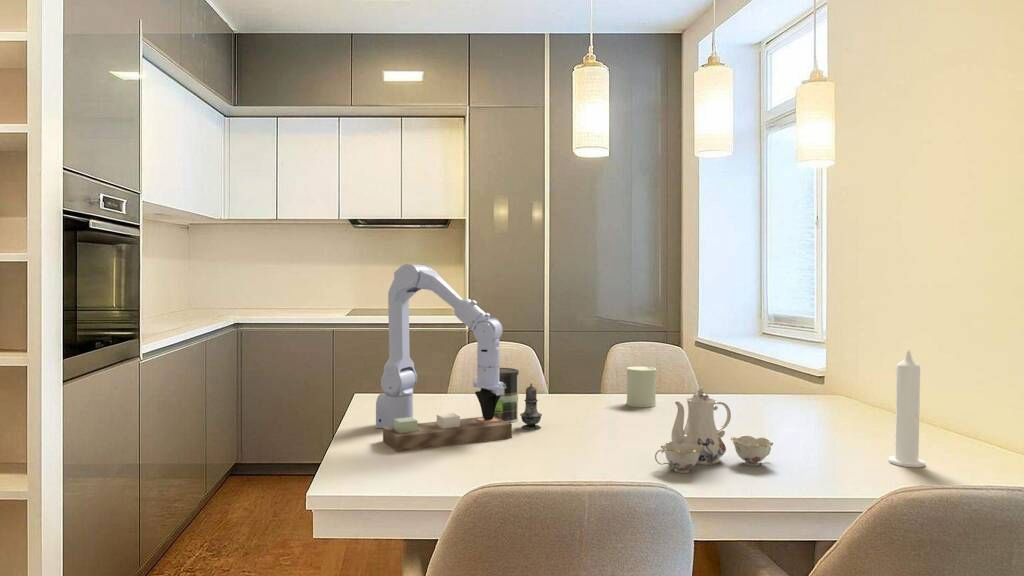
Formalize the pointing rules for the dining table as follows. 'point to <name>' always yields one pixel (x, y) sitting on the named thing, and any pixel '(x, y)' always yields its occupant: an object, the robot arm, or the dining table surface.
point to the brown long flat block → (446, 434)
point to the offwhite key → (448, 420)
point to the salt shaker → (531, 410)
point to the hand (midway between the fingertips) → (488, 419)
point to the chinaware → (707, 437)
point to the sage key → (405, 425)
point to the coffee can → (508, 396)
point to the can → (641, 386)
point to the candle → (907, 414)
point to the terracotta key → (488, 421)
